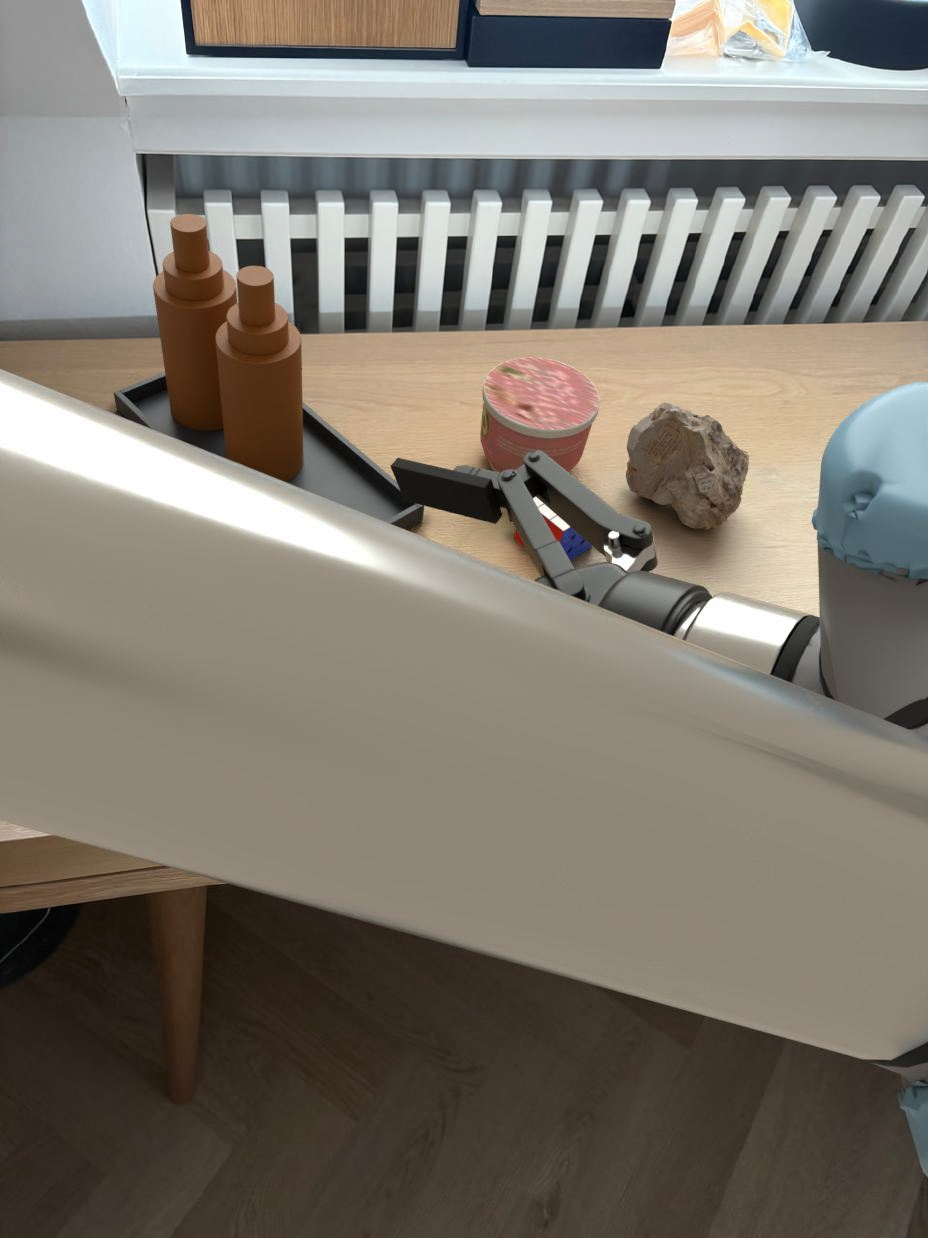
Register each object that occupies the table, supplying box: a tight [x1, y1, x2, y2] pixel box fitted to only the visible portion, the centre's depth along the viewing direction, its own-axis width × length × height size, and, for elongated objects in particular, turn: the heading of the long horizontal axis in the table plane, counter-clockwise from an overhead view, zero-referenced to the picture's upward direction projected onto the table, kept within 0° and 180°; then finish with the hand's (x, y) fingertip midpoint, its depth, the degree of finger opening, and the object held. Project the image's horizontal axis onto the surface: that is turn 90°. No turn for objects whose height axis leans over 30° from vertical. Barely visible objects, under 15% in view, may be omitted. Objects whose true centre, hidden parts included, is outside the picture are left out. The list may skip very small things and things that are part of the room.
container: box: [479, 356, 601, 473], centre depth 94 cm, size 10×10×8 cm
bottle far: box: [152, 213, 238, 431], centre depth 89 cm, size 7×7×19 cm
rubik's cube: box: [513, 497, 593, 561], centre depth 88 cm, size 5×5×5 cm
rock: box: [625, 402, 750, 531], centre depth 92 cm, size 9×12×10 cm
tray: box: [113, 371, 425, 531], centre depth 92 cm, size 13×28×2 cm, turn 43°
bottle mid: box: [215, 265, 303, 482], centre depth 85 cm, size 7×7×19 cm
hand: (332, 560), depth 56 cm, fingers open, 13 cm apart
